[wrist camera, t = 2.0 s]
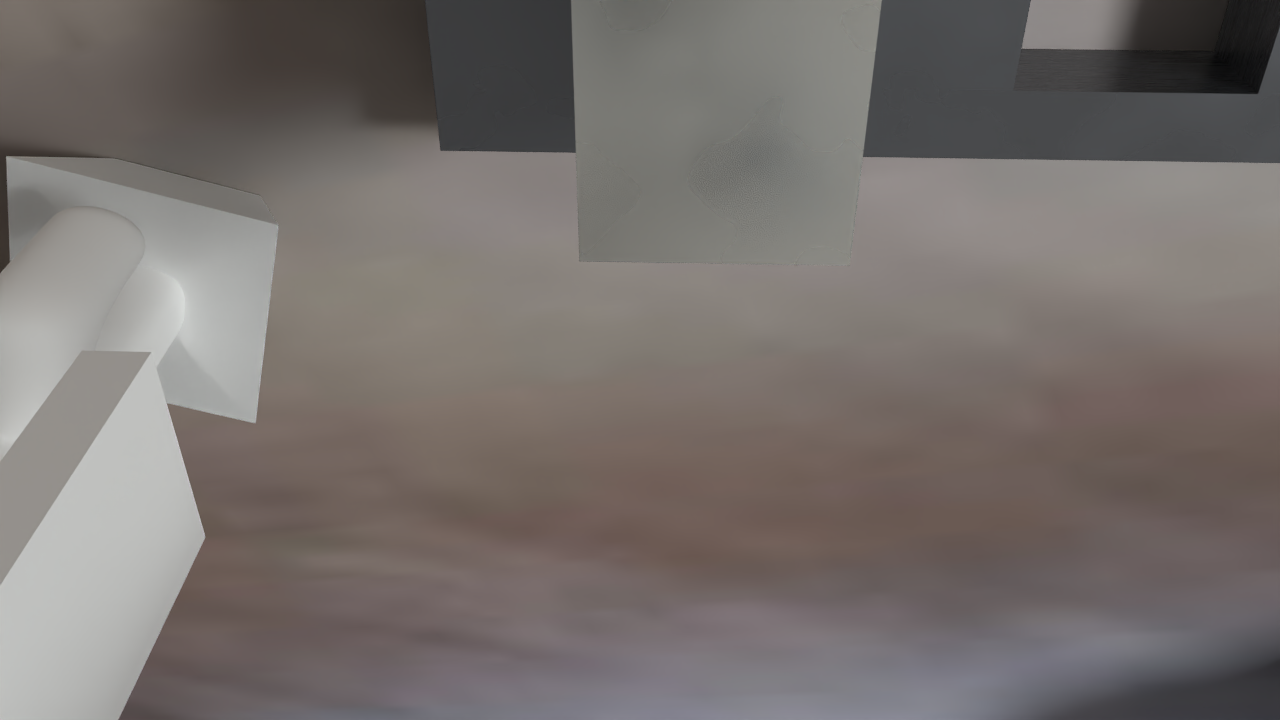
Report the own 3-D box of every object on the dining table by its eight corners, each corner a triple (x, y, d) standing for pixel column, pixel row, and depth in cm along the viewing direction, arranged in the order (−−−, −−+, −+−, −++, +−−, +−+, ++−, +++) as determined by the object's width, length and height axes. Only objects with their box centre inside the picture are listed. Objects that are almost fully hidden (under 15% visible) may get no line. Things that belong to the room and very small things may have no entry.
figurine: (317, 133, 35) (116, 463, 22) (284, 380, 40) (107, 756, 28) (65, 66, 34) (-290, 373, 21) (65, 329, 39) (-218, 695, 27)
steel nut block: (612, 22, 32) (579, 261, 22) (610, -173, 30) (570, -8, 19) (794, 24, 32) (849, 265, 22) (809, -172, 29) (882, -4, 19)
